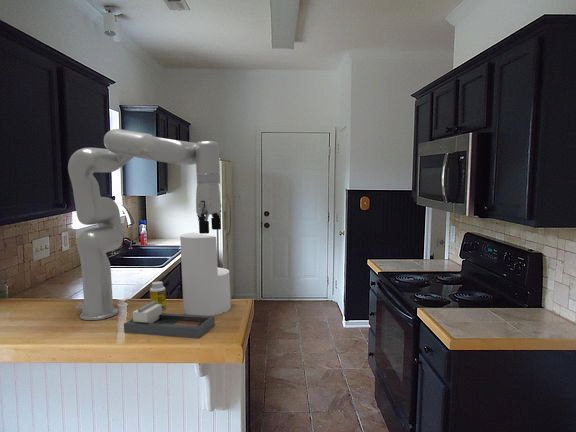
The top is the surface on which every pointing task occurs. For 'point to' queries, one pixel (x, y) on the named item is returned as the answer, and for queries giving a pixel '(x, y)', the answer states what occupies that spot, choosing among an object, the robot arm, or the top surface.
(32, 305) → the top surface
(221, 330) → the top surface
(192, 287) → the cylinder
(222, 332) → the top surface
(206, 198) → the robot arm
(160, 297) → the supplement bottle
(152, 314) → the slider knob
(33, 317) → the top surface
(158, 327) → the dark grey tray
